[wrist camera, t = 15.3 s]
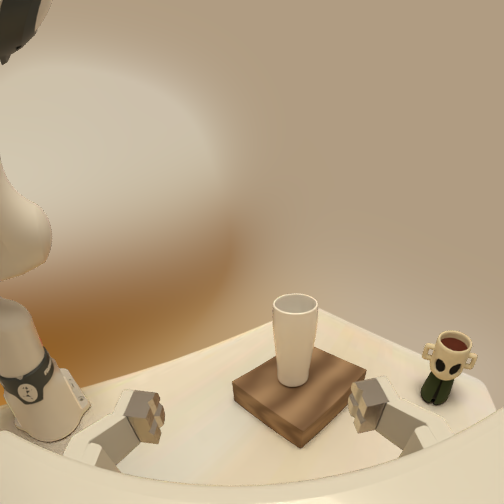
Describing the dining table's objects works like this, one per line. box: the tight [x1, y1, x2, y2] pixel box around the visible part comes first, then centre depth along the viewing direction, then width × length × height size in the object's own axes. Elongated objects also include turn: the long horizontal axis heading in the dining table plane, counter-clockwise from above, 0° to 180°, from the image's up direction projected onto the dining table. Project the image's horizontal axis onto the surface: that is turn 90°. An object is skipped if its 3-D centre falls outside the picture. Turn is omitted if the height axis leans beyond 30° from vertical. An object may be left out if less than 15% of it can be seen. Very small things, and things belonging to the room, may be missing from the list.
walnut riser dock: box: [232, 347, 367, 448], centre depth 45 cm, size 16×18×5 cm
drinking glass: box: [273, 294, 318, 387], centre depth 42 cm, size 7×7×15 cm
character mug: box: [421, 330, 477, 404], centre depth 37 cm, size 11×7×13 cm, turn 49°
